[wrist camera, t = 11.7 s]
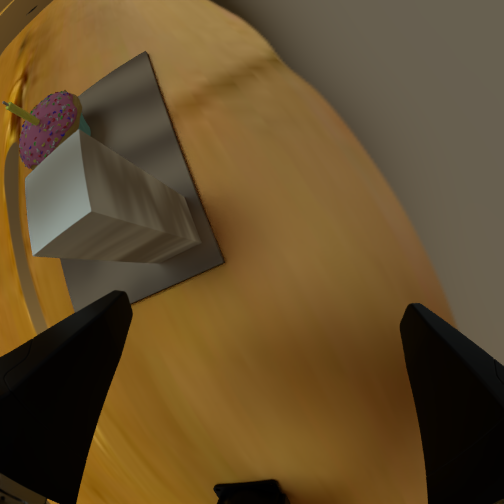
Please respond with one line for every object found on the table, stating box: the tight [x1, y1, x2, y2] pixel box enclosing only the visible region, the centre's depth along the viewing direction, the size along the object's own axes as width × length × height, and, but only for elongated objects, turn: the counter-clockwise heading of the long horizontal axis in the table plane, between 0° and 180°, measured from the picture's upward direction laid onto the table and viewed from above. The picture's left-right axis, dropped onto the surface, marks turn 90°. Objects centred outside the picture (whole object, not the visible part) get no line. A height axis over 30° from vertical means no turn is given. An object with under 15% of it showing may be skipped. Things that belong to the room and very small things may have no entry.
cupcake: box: [3, 90, 91, 170], centre depth 18 cm, size 9×8×12 cm
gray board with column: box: [25, 51, 225, 312], centre depth 17 cm, size 26×16×13 cm, turn 23°
